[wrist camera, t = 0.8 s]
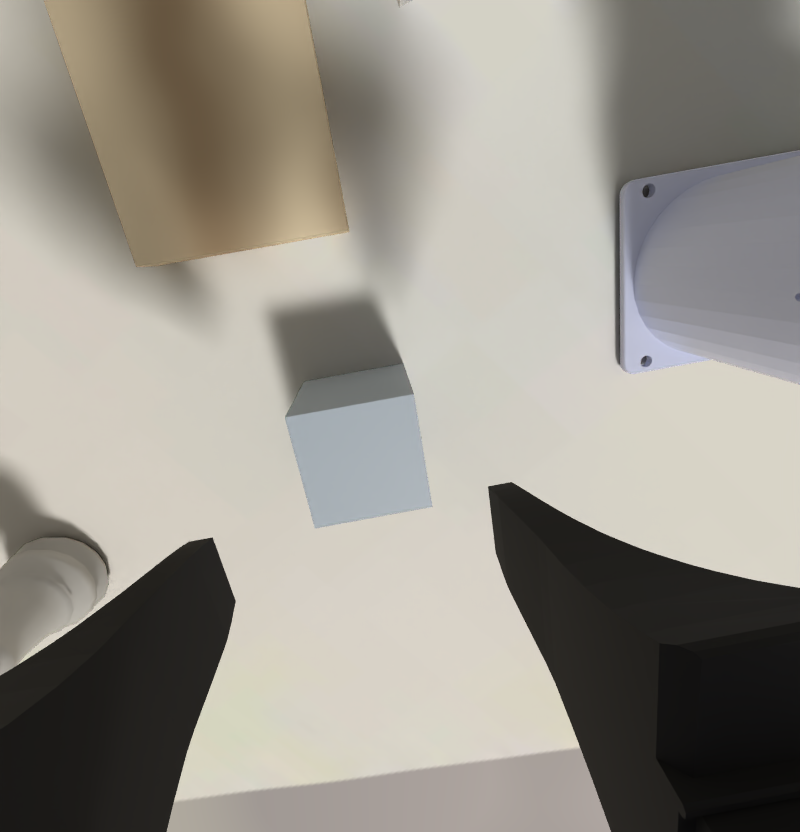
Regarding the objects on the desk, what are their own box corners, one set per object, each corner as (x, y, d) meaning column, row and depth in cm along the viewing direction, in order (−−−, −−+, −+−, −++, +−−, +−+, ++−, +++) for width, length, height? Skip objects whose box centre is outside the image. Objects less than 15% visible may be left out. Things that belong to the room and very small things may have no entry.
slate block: (403, 363, 20) (413, 394, 15) (418, 453, 22) (432, 506, 17) (304, 380, 20) (284, 417, 15) (326, 469, 22) (314, 528, 17)
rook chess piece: (-3, 559, 22) (-198, 715, 14) (68, 515, 21) (-96, 653, 14) (65, 619, 23) (-80, 791, 16) (133, 579, 23) (17, 737, 15)
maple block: (304, -7, 16) (296, -43, 14) (350, 232, 19) (348, 229, 17) (82, 31, 16) (43, 0, 14) (159, 266, 19) (136, 266, 17)
